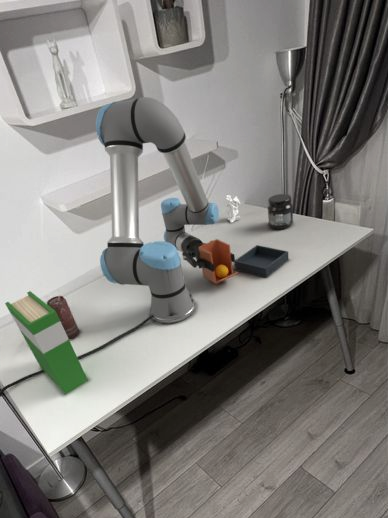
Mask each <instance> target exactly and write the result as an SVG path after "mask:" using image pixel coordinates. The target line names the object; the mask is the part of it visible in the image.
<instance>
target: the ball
mask: <svg viewBox="0 0 388 518" xmlns="http://www.w3.org/2000/svg"><path fill="white" fill-rule="evenodd" d="M215 273H216V275H217V276H218V277H220V278H224V277H226V276H227V274H228V268H227V267H226V266H225V265H219V266H217V268H216V270H215Z"/></svg>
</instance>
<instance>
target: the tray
mask: <svg viewBox="0 0 388 518" xmlns="http://www.w3.org/2000/svg"><path fill="white" fill-rule="evenodd" d="M288 261H289V250H288V251H287V250H284V249H278V248H273V247H268V246H264V245H260V244H259V245H255V246H253V247H252V248H250V249H249V250H248V251H246V252H245V253H243V254H242V255H241V256H239V257H238V258H235V262H233V263H234V270H235V271H239V272H244V273H246V274H251V275H253V276H258V277H261V278H269V276H271V275H272V274H273V273H274V272H276V271H277V270H278V269H279V268H281V267H282V266H283V265H285V264H286V263H287V262H288Z"/></svg>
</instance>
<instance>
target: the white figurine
mask: <svg viewBox="0 0 388 518" xmlns="http://www.w3.org/2000/svg"><path fill="white" fill-rule="evenodd" d="M224 200H225V201H226V207H227V209H226V214H227V215H228V217H227V220H228V221H229V223H234V222H237V221H239V219H240V218H241V216H240V215H238V214H239V210H238V208H239V206H240V205H241V202H240V199H239V198H238V196H237V195H235V196H234V197H233V198H232V195H227V194H226V195H225V198H224Z"/></svg>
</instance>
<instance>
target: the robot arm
mask: <svg viewBox="0 0 388 518" xmlns="http://www.w3.org/2000/svg"><path fill="white" fill-rule="evenodd" d="M95 132H96V135H97V136H98V140H99V142H100V144H101V145H102V146H104V151H105V152H106V153H107V155H108V156H109V169H110V171H109V172H110V173H109V174H110V209H111V212H110V213H111V238H110V239H109V240H108V241H107V245H106V246H107V247H106V248H104V249H103V250H102V252H101V254H100V257H99V265H100V270H101V272H102V275H103V276H104V277H105V279H106V280H107V281H108V282H110V283H112V284H118V285H122V286H123V285H130V286H131V285H133V286H134V285H135V286H148V288H149V292H150V297H151V298H150V309H149V311H150V316H148V317H147V318H145V319H144V320H142V322H141V323H139V324H137V325H136V326H134V327H133V328H130V329H129V330H126V331H125V332H122V333H121V334H119V335H117V336H116V337H114V338H111V339H110V340H109V341H107V342H106V343H103V344H102V345H100V346H98V347H96V348H94V349H92V350H90V351H87V352H85V353H83V354H80V355H78V356H77V358H78V360H80V359H83V358H86V357H87V356H90V355H92V354H94V353H97V352H98V351H100V350H102V349H104V348H106V347H107V346H109V345H111V344H113V343H115V342H117V341H118V340H120V339H122V338H123V337H125V336H127V335H129V334H131V333H133V332H135V331H136V330H138V329H140V328H141V327H143V326H144V325H145V324H146V323H148V322H149V321H151V320H154V321H155V322H157V323H159V324H164V325H165V324H167V325H168V324H176V323H179V322H182V321H184V320H187V319H188V318H189V317H191V316H192V315H193V314H194V313H195V311H196V302H195V299H194V298H193V297H194V296H193V295H192V294H191V292H190V291H189V290H188V288H187V286H186V281H185V277H184V272H183V267H182V261H181V260H182V259H183V261H186V262H187V263H188V264H189V265H190V266H191V267H192V268H193V269H196V268H197V267H198V269H202V267H203V268H207V269H209V270H210V271H212V272H214V271H215V270H214V264H213V263H211V262H209V261H207V260H205V259H202V261H201V258H200V254H199V249H198V247H199V246H202V245H204V244H206V243H207V242H203V241H202V240H201V239H200V238H198V237H196V236H194V235H192V234H190V233H188V232H186V227H185V226H208V225H215V224H216V223H217V222H218V220H219V217H220V216H219V215H220V209H219V205H217V204H216V203H215V202H210V201H209V200H208V198H207V195H206V193H205V190H204V188H203V185H202V183H201V180H200V177H199V175H198V173H197V170H196V167H195V165H194V162H193V160H192V158H191V155H190V152H189V150H188V146H187V144H186V139H187V136H186V133H185V130H184V128H183V126H182V124H181V123H180V120H179V119H178V117H177V116H176V115H175V113H174V112H173V111H172V110H171V109H170V108H169V107H168V106H166V105H165V104H164V103H163V102H161V101H160V100H157V99H156V98H153V97H149V96H145V97H144V96H143V97H140V98H134V99H127V100H122V101H120V100H119V101H116V100H115V101H112V102H111V103H106V104H104V105H102V106H101V107H100V109H99V110H98V112H97V114H96V119H95ZM149 143H151V144H153V145H154V146H155V147H156V149H157V151H158V153H161V154H162V155H163V157H164V159H165V161H166V163H167V165H168V167H169V169H170V172H171V174H172V176H173V178H174V180H175V182H176V184H177V187H178V189H179V191H180V193H181V195H182V197H183V199H184V202H185V203H181V200H180V199H179V198H178V197H168V198H166V199H164V200H162V201H161V203H160V209H161V215H162V218H163V223H164V227H165V231H164V232H163V240H164V241H163V240H155V241H154V242H152V241H150V242H147V243H144V241H143V240H142V239H141V238H140V230H139V229H140V218H139V217H140V215H139V214H140V213H139V212H140V209H139V205H140V203H139V201H140V200H139V158H140V156H141V155H143V153H144V144H149ZM211 241H212V240H209V242H211ZM179 252H180V253H181V254H182V259H181V256H180V254H179ZM231 259H232V263H234V262H235V260H236V257H235V253H232V252H231ZM41 374H45V372H44V370H42V369H41V370H38V371H36V372H33V373H29V374H28V375H25V376H23V377H21V378H19V379H16V380H15V381H13V382H11V383H9V384H7V385H5V386H3V388H1V390H0V398H1V397H2V396H3V394H4V393H5V391H7V390H8V389H9V388H12V387H14V386H16V385H18V384H20V383H21V382H24V381H27V380H28V379H30V378H34V377H36V376H38V375H41ZM46 482H47V484H48V485H49V487H50V488H53V485H51V483H50V482H49V481H48V480H47V479H46Z"/></svg>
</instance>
